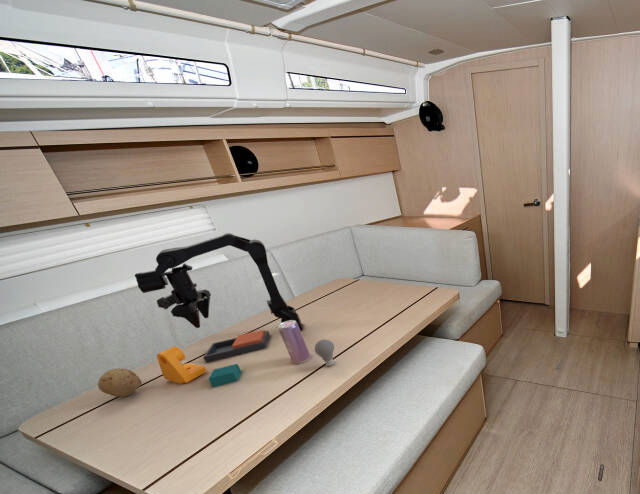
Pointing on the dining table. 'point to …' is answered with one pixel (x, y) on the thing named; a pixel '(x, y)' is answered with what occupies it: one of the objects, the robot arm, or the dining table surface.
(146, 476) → the dining table surface
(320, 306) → the dining table surface
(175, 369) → the bracket
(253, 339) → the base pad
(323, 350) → the light bulb
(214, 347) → the pad tray
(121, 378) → the potato
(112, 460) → the dining table surface
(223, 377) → the teal pad
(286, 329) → the beverage can
